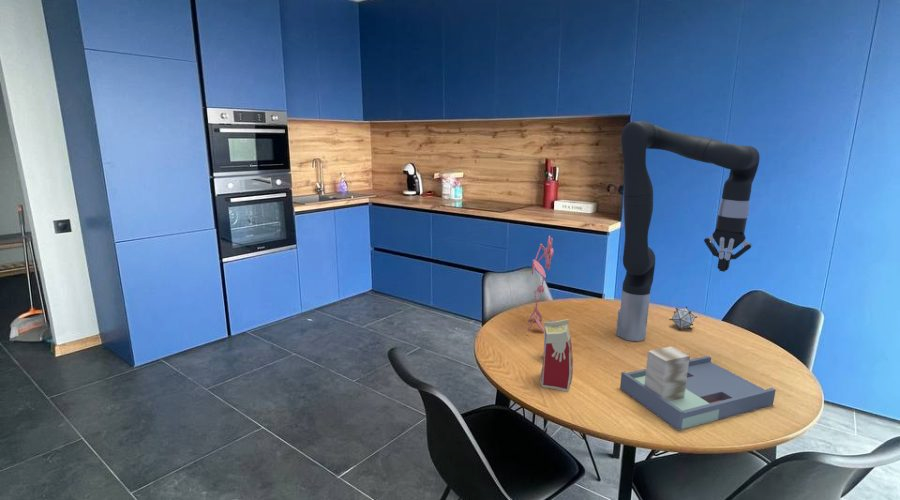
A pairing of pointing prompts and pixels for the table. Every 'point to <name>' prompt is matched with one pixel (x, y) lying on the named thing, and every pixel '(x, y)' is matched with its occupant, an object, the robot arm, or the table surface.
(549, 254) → the figurine
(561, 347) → the milk carton
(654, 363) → the off-white block
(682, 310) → the game die
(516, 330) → the table surface
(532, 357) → the table surface
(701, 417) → the box
